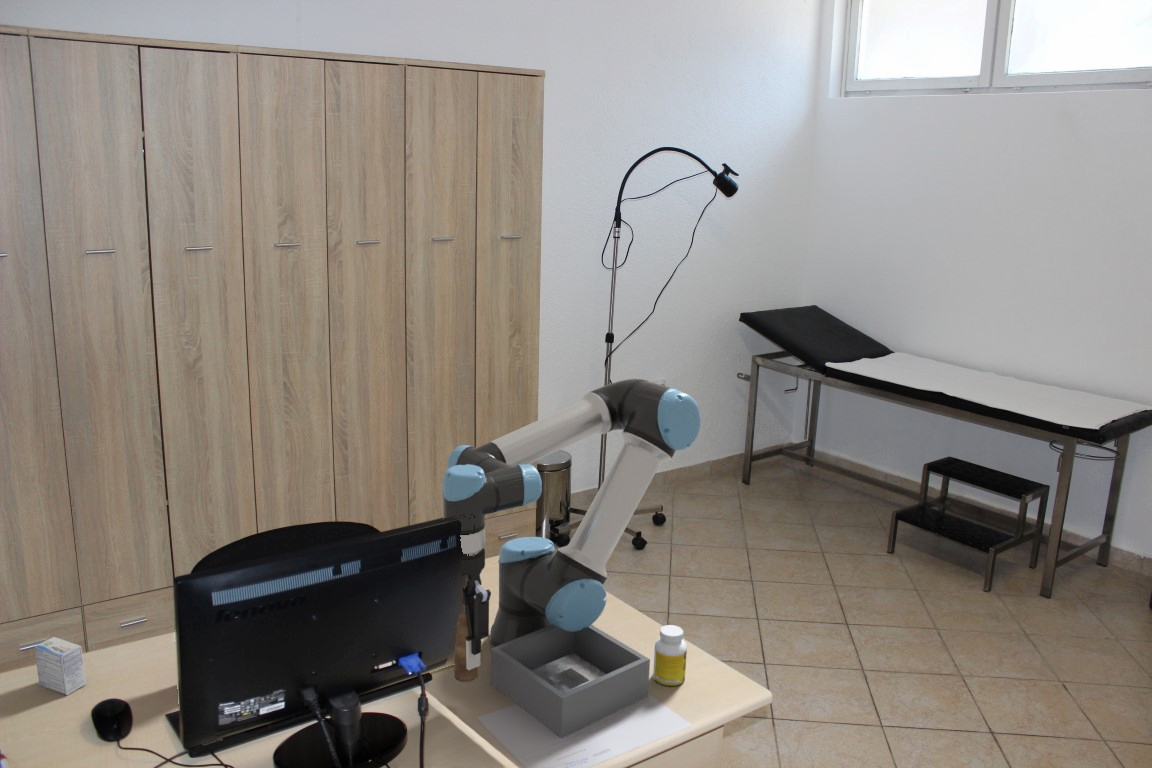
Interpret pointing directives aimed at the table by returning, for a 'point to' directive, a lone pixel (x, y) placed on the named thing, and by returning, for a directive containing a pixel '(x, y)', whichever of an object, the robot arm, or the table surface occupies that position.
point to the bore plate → (568, 671)
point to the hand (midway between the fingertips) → (465, 661)
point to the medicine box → (60, 665)
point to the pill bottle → (670, 657)
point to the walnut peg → (462, 653)
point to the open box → (577, 705)
